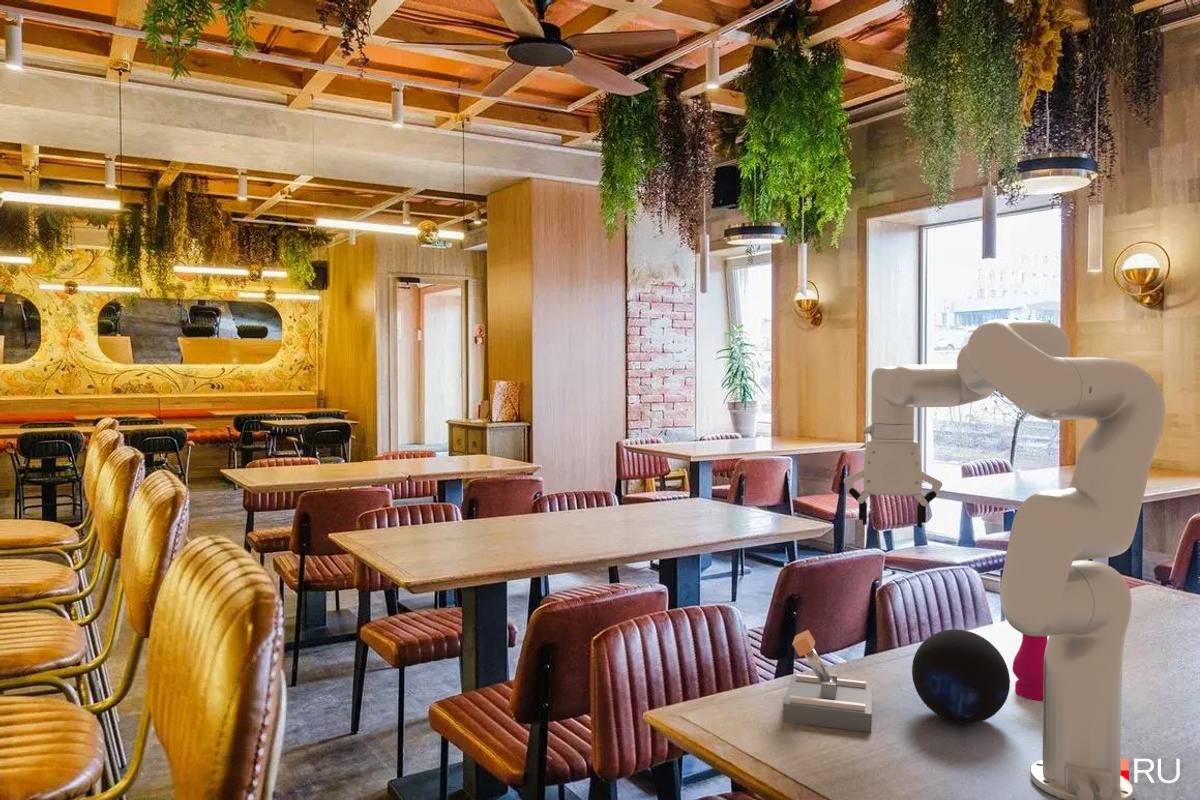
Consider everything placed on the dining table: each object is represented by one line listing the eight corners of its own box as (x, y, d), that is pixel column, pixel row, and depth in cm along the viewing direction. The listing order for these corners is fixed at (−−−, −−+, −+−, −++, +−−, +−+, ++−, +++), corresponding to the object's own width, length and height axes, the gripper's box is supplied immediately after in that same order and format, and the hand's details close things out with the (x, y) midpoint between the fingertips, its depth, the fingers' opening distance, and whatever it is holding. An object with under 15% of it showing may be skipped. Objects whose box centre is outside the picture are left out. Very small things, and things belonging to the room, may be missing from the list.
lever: (838, 692, 143) (805, 637, 144) (824, 699, 143) (792, 644, 145) (839, 682, 147) (808, 629, 149) (826, 689, 148) (795, 636, 150)
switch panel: (871, 732, 137) (871, 698, 137) (783, 721, 141) (783, 688, 141) (872, 701, 150) (872, 670, 150) (791, 692, 154) (791, 661, 154)
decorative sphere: (1015, 715, 144) (1016, 627, 144) (1002, 746, 131) (1003, 651, 131) (922, 697, 152) (923, 614, 152) (901, 725, 140) (902, 634, 139)
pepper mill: (1062, 703, 149) (1064, 590, 149) (1018, 700, 151) (1019, 588, 150) (1049, 688, 156) (1050, 581, 156) (1007, 685, 158) (1008, 579, 158)
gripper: (843, 433, 156) (842, 526, 156) (944, 435, 151) (943, 531, 151) (844, 431, 163) (843, 520, 163) (940, 433, 158) (939, 524, 158)
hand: (891, 525), depth 157 cm, fingers open, 9 cm apart
